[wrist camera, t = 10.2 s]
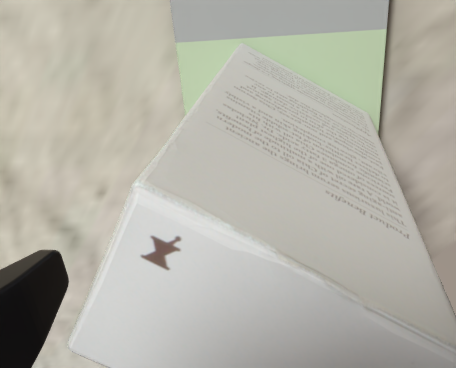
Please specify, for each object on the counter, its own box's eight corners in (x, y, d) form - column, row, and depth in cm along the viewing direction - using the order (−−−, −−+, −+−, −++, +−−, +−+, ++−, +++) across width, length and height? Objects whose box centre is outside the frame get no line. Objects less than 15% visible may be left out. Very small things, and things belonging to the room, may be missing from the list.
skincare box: (196, 129, 18) (51, 349, 8) (241, 39, 16) (127, 172, 6) (316, 194, 19) (332, 482, 8) (375, 114, 17) (492, 361, 6)
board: (403, -219, 13) (407, -226, 12) (371, 191, 19) (372, 197, 18) (151, -177, 14) (145, -182, 14) (198, 190, 20) (196, 196, 20)
